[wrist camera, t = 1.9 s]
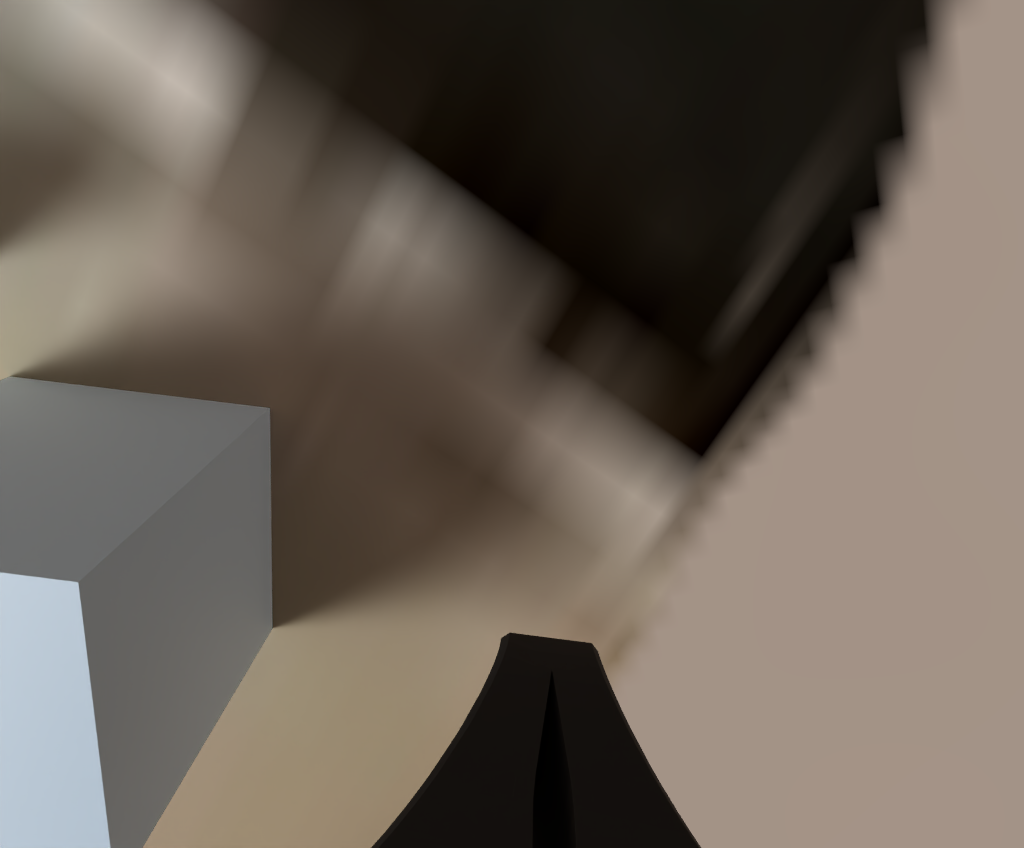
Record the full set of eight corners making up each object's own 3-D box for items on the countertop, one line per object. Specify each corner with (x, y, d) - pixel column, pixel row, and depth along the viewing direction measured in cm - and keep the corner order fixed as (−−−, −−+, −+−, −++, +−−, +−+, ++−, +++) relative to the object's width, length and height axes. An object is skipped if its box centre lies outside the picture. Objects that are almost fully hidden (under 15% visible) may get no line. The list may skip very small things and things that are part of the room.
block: (273, 627, 16) (115, 892, 10) (43, 597, 16) (-240, 845, 10) (270, 407, 14) (77, 582, 8) (11, 375, 14) (-351, 527, 8)
